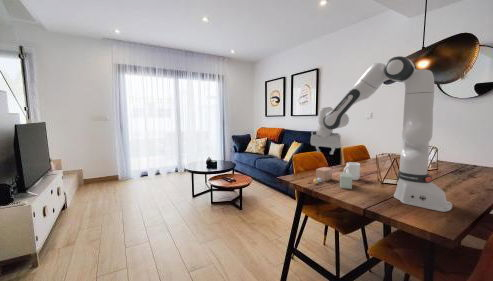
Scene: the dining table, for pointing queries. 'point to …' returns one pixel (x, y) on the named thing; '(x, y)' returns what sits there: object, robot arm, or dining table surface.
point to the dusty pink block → (324, 173)
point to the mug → (353, 170)
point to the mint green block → (345, 180)
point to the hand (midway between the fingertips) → (324, 153)
